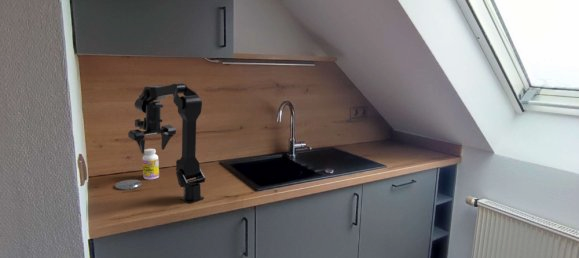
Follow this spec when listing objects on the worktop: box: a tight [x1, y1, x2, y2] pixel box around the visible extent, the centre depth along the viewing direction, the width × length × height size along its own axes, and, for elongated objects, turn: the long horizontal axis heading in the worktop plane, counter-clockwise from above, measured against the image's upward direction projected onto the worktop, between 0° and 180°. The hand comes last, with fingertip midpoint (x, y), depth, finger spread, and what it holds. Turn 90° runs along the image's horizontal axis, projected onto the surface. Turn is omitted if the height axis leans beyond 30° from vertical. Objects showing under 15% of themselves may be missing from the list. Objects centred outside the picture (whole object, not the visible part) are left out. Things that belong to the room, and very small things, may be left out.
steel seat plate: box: [114, 179, 142, 191], centre depth 155 cm, size 10×10×1 cm
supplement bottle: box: [141, 148, 160, 181], centre depth 164 cm, size 7×7×13 cm
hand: (152, 151), depth 157 cm, fingers open, 9 cm apart
